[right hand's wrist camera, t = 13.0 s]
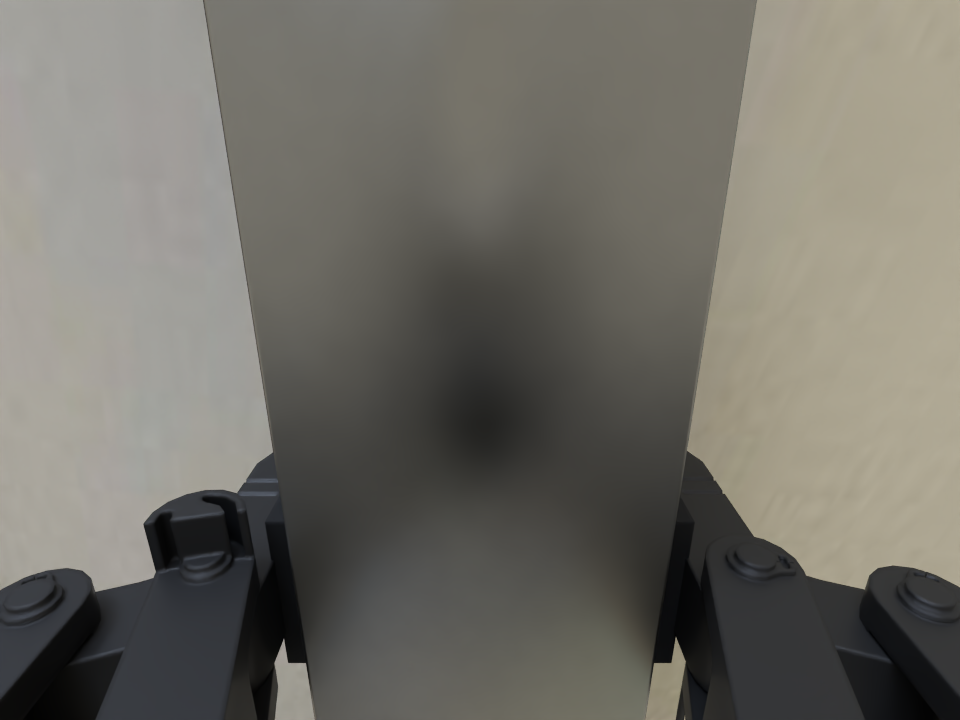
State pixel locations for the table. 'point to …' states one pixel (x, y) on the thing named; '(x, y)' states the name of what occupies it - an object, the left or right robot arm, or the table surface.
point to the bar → (479, 329)
